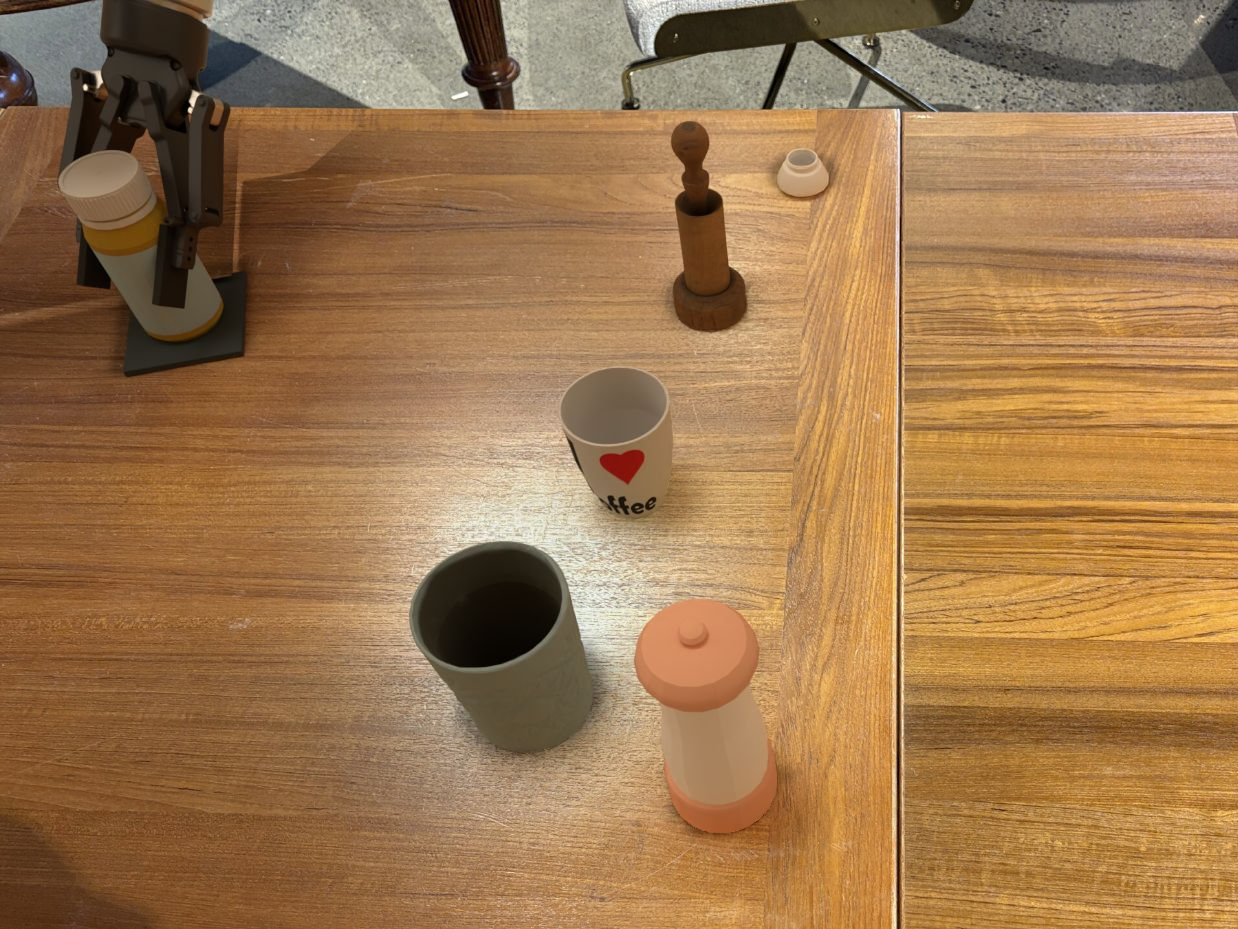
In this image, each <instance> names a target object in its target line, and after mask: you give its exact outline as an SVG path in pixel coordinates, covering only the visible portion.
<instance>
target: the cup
mask: <svg viewBox="0 0 1238 929" xmlns="http://www.w3.org/2000/svg"><path fill="white" fill-rule="evenodd" d="M671 412H672V411H671V402H670V395H669V391H668V389H667V387H666V386H665V384H664V383H663V381H662V380H661V379H660V378H659V377H657V376H656V375H654V374H653V373H651V372H650V371H647V370H646V369H642V368H638V367H634V366H629V365H628V366H627V365H613V366H606V367H601V368H596V369H594V370H591V371H589V372H587V373H585V374H583V375H581V376H579V377H578V378H577V379H576V380H574V381H573V382H571V383H570V385H568V386H567V388H566V389H565V390H564V391H563V393H562V395H561V397H560V398H559V401H558V405H557V417H558V420H559V423H560V426H561V428H562V431H563V433H564V436H565V438H566V442H567V444H568V447H569V449H570V453H571V455H572V457H573V460H574V462H575V464H576V466H577V467H578V469H579V471H580V473H581V474H582V477H583V478H584V480H585V481H586V483H587V485H588V487H589V489H590V490H591V492H592V493H593V494H594V496H595V497H596V498H597V499H598V500H599V501H600V503H601V504H602V505H603V506H604V507H605V508H606V510H608V511H609V512H610V513H611V514H612V513H613V514H612V515H614V516H616V517H618V518H622V519H630V520H633V519H632V518H635V519H640V518H644V517H648V516H649V515H651V514H653V513H655V512H656V511H657V510H658V509H659V508H660V507H661V506H662V505H663V503H664V502H665V499H666V496H667V492H668V489H669V485H670V481H671V477H672V471H673V470H672V469H673V449H674V448H673V447H674V434H673V424H672V423H673V422H672V413H671ZM652 512H653V513H652Z"/></svg>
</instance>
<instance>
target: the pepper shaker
mask: <svg viewBox="0 0 1238 929" xmlns="http://www.w3.org/2000/svg"><path fill="white" fill-rule="evenodd" d="M760 648H761V647H760V645H759V642H758V638H757V635H756V632H755V630H754V629H753V628H752V626H751V625H750V623H749V622H748V621H747V620H746V618H745V617H744V615H743V614H742V613H740V612H739V611H737V610H736V609H734V608H733V607H731V606H730V605H728V604H726V603H723V602H719V601H716V600H713V599H709V598H689V599H686V600H685V599H684V600H681V601H676V602H674V603H672V604H670V605H668V606H667V607H665V608H663V609H661V610H659V611H658V612H657V613H656V614H655V615H654V616H653V617H652V618H651V619H649V620H648V622H646V623H645V625H644V627H643V628H642V630H641V632H640V633H639V636H638V637H637V640H636V646H635V652H634V659H633V663H634V668H635V673H636V679H637V680H638V681H639V682H640V684H641V686H642V687H643V689H644V690H645V692H646V693H647V694H649V695H650V696H651V697H652V698H654V699H655V700H656V701H658V702H659V706H660V711H661V717H660V718H661V719H660V744H661V749H662V753H663V757H664V763H663V772H664V777H665V782H666V786H667V789H668V792H669V795H670V799H671V802H672V805H673V807H674V806H675V807H674V809H675V808H676V809H675V811H676V812H677V811H678V812H677V814H678V815H679V814H680V815H679V816H680V818H681V817H682V818H683V819H684V820H683V819H682V818H681V819H682V820H683V821H685V820H686V821H687V822H688V823H687V822H686V821H685V822H686V823H687V824H689V823H690V824H691V825H692V826H693V827H692V826H691V825H690V824H689V825H690V826H691V827H692V828H694V827H695V828H694V829H696V828H698V829H697V830H699V829H701V830H700V831H702V830H704V831H707V832H710V833H709V834H711V833H729V834H731V833H730V832H733V831H737V830H741V829H744V828H746V827H748V826H749V825H751V824H753V823H754V822H756V821H758V820H759V819H760V818H761V817H762V816H763V814H764V813H765V812H766V811H767V810H768V809H769V808H770V809H771V807H770V806H772V805H771V803H772V804H773V802H774V800H775V798H776V796H775V794H776V795H777V791H776V788H777V789H778V772H777V762H776V757H775V752H774V748H773V745H772V742H771V740H770V739H769V737H768V734H767V732H768V731H767V727H766V723H765V719H764V717H763V714H762V712H761V710H760V708H759V706H758V703H757V701H756V699H755V697H754V694H753V692H752V688H751V681H752V679H753V676H754V674H755V672H756V671H757V668H758V667H759V658H760ZM774 797H775V798H774ZM773 799H774V800H773ZM772 801H773V802H772ZM770 809H769V810H770ZM769 810H768V811H769ZM768 811H767V812H768ZM767 812H766V813H767ZM766 813H765V814H766ZM765 814H764V815H765ZM763 817H764V816H763ZM763 817H762V818H763ZM762 818H761V819H762ZM761 819H760V820H761ZM760 820H759V821H760ZM759 821H758V822H759ZM756 823H757V822H756ZM754 824H755V823H754ZM754 824H753V825H754ZM751 826H752V825H751ZM749 827H750V826H749ZM749 827H748V828H749ZM746 829H747V828H746ZM744 830H745V829H744ZM704 831H703V832H704ZM741 831H742V830H741ZM707 832H706V833H707ZM737 832H738V831H737ZM733 833H734V832H733Z"/></svg>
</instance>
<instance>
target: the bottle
mask: <svg viewBox="0 0 1238 929" xmlns="http://www.w3.org/2000/svg"><path fill="white" fill-rule="evenodd" d="M58 184H59V188H60V189H59V188H58V189H59V191H60V193H61V194H62V195H63V197H64V198H65V200H66V201H67V204H69V206H70V208H71V210H72V211H73V212H74V213H75V214H76V217H77V216H78V218H79V220H80V221H81V222H82V226H83V232H84V237H85V239H86V240H87V242H88V244H89V246H90V247H91V249H92V250H93V252H94V253H95V255H96V256H97V258H98V259H99V261H100V263H101V264H102V266H103V267H104V269H105V270H106V272H107V273H108V275H109V276H110V278H111V282H112V283H113V284H114V286H115V287H116V289H117V291H119V293H120V295H121V297H122V298H123V300H124V301H125V302H126V304H127V306H128V308H129V309H130V311H131V310H132V312H133V313H134V315H135V316H136V318H137V319H138V321H139V322H140V324H141V325H142V326H143V328H144V330H145V331H146V332H147V333H148V334H149V335H150V336H152V337H154V338H156V339H160V340H164V341H170V342H183V341H188V340H191V339H195V338H197V337H199V336H201V335H203V334H205V333H207V332H208V331H209V330H210V329H212V328H213V327H214V326H215V325H216V323H217V322H218V320H219V318H220V316H221V314H222V310H223V301H222V298H221V296H220V294H219V292H218V290H217V289H216V287H215V285H214V283H213V281H212V280H211V279H212V278H211V276H210V275H209V273H208V271H207V268H206V267H205V265H204V264H203V262H202V260H201V259H200V257H199V255H198V253H197V252H196V257H195V258H196V261H195V266H194V268H193V270H189V271H188V280H187V290H186V299H185V309H181V308H172V307H164V306H157V305H154V304H152V297H153V287H154V277H155V267H156V257H157V247H158V237H159V227H160V224H164V225H167V224H165V223H164V222H163V220H162V218H167V217H169V215H168V210H167V205H166V200H164V199H163V198H162V197H161V196H160V195H159V194H157V193H156V191H155V188H154V187H153V186H152V184H151V181H150V178H149V177H148V175H147V173H146V172H145V170H144V169H143V166H142V165H141V163H140V161H139V160H138V159H137V158H136V157H135V156H134V155H132V153H131V154H129V153H127V152H124V151H118V150H107V151H99V152H95V153H91V154H88V155H86V156H83V157H81V158H79V159H77V160H75V161H74V162H72V163H71V164H70V165H68V166H67V167H66V168H65V169H64V170H63V172H62V173H61V175H60V177H59V181H58ZM169 226H171V225H169Z"/></svg>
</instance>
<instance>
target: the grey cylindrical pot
mask: <svg viewBox="0 0 1238 929" xmlns="http://www.w3.org/2000/svg"><path fill="white" fill-rule="evenodd" d="M408 622H409V630H410V632H411V636H412V639H413V641H414V644H415V646H416V647H417V648H418V649H419V651H420V653H421V654H422V655H423V657H424V658H425V659H426V660H427V661H428V663H429V664H430V666H431V667H432V669H434V671H435V673H437V675H438V676H439V677H440V679H441V680H442V681H443V682H444V683H445V684H446V685H447V686H448V688H449V689H450V691H452V692H453V693H454V695H455V699H456V700H457V701H458V702H459V703H460V704H461V706H462V707H463V709H465V710H466V711H467V713H468V714H469V716H470V717H471V720H472V722H473V724H474V726H475V728H477V730H478V731H479V733H480V734H481V735H482V736H483V737H484V738H485V740H487V741H489V742H490V743H491V744H495V745H496V746H495V745H494V746H495V747H498V748H500V749H502V750H505V749H507V751H509V752H514V751H516V752H515V753H525V752H528V753H533V752H532V751H535V752H534V753H537V752H536V751H538V750H544V749H547V750H549V749H548V748H550V749H552V748H551V747H553V746H555V747H557V746H556V745H558V744H559V743H561V742H563V741H564V742H566V741H567V740H568V739H567V738H569V737H570V736H571V735H572V736H574V735H575V734H576V733H577V732H578V731H579V730H580V729H581V728H582V726H583V725H584V723H585V722H586V721H587V719H588V717H589V715H590V713H591V710H592V707H593V706H592V705H593V703H594V697H595V696H594V694H595V688H594V682H593V678H592V674H591V672H590V669H589V664H588V659H587V654H586V651H585V646H584V643H583V641H582V634H581V631H580V627H579V623H578V619H577V616H576V612H575V609H574V603H573V599H572V596H571V593H570V588H569V584H568V581H567V579H566V576H565V574H564V572H563V570H562V568H561V566H560V565H559V563H558V562H557V561H556V560H555V559H554V558H553V557H552V556H551V555H549V554H548V553H547V552H545V551H544V550H541V549H540V548H538V547H536V546H534V545H531V544H527V543H524V542H521V541H519V542H518V541H512V540H496V541H488V542H487V541H486V542H482V543H477V544H474V545H470V546H468V547H465V548H463V549H461V550H459V551H457V552H454V553H451V555H449V556H447V557H445V558H444V559H443V560H441V561H440V562H439V563H438V564H436V565H435V566H434V567H433V568H432V569H430V570H429V572H428V573H427V574H426V575H424V577H423V579H422V580H421V581H420V582H419V584H418V586H417V588H416V589H415V592H414V594H413V596H412V598H411V603H410V607H409V612H408ZM592 702H593V703H592ZM589 712H590V713H589ZM588 714H589V715H588ZM587 716H588V717H587ZM586 718H587V719H586ZM584 721H585V722H584ZM582 724H583V725H582ZM581 725H582V726H581ZM580 727H581V728H580ZM579 728H580V729H579ZM578 729H579V730H578ZM577 730H578V731H577ZM576 731H577V732H576ZM575 732H576V733H575ZM574 733H575V734H574ZM573 734H574V735H573ZM572 736H571V737H572ZM571 737H570V738H571ZM570 738H569V739H570ZM566 739H567V740H566ZM565 740H566V741H565ZM564 742H563V743H564ZM561 744H562V743H561ZM559 745H560V744H559ZM559 745H558V746H559ZM553 748H554V747H553ZM544 751H545V750H544ZM538 752H539V751H538Z"/></svg>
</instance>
